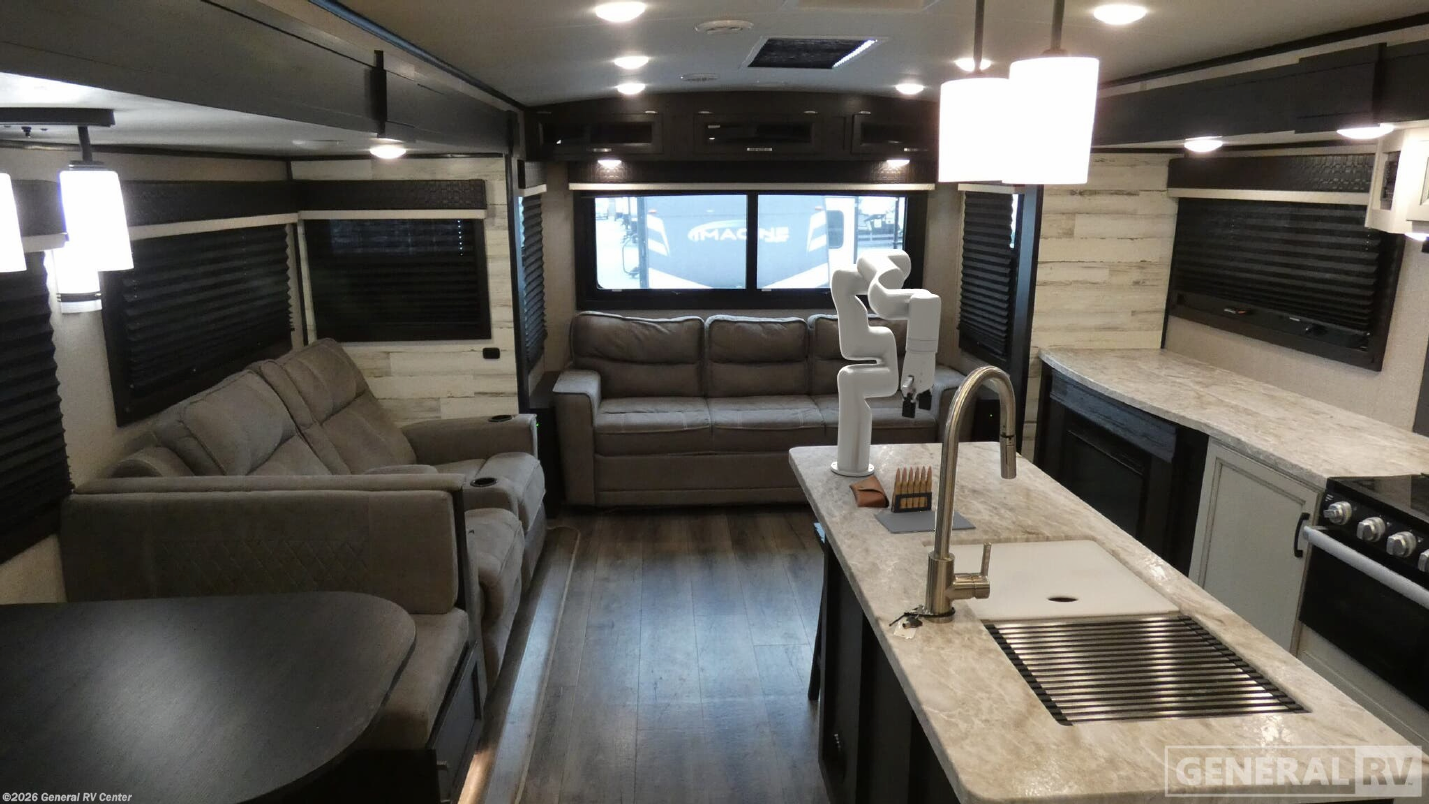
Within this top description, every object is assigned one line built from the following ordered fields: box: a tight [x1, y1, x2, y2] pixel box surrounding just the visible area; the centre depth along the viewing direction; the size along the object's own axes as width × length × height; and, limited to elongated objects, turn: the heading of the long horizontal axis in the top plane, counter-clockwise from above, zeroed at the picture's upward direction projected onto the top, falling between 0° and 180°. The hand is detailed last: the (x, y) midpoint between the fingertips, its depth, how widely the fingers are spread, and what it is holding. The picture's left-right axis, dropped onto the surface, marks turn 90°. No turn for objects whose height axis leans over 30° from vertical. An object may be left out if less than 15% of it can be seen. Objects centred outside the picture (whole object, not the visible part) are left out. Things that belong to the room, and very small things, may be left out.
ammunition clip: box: [890, 465, 933, 513], centre depth 231 cm, size 11×2×12 cm, turn 104°
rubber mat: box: [873, 509, 977, 534], centre depth 224 cm, size 12×22×1 cm, turn 101°
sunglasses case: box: [848, 474, 890, 509], centre depth 242 cm, size 18×7×7 cm
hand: (916, 413), depth 221 cm, fingers open, 9 cm apart
